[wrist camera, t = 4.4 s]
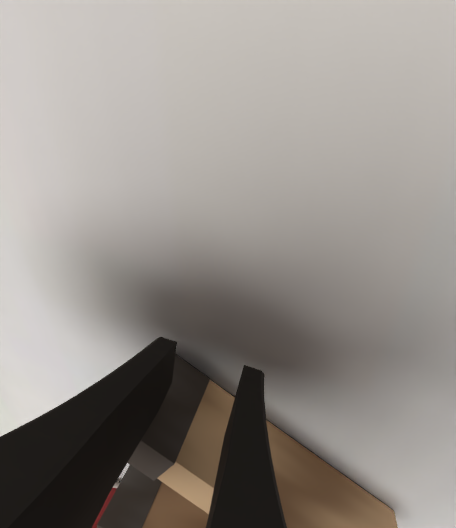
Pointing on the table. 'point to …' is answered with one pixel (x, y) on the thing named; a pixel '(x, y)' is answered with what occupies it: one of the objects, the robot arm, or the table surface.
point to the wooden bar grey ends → (209, 450)
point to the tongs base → (149, 505)
